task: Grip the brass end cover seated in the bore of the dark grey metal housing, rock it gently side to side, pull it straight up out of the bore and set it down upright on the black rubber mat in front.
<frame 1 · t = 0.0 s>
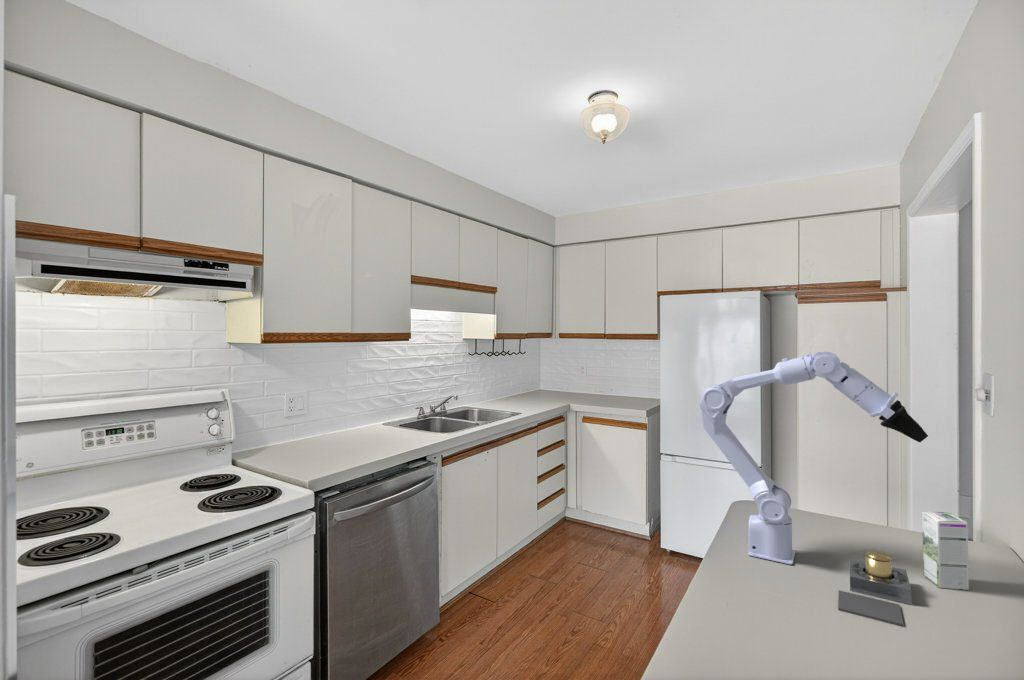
hand: (921, 435, 104), 32 cm above the countertop, tool tilted 50°, fingers open, 7 cm apart
housing: (878, 587, 104), on the countertop
syrup box: (945, 583, 105), on the countertop
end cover: (878, 570, 104), in the housing
rubber mat: (869, 608, 96), on the countertop
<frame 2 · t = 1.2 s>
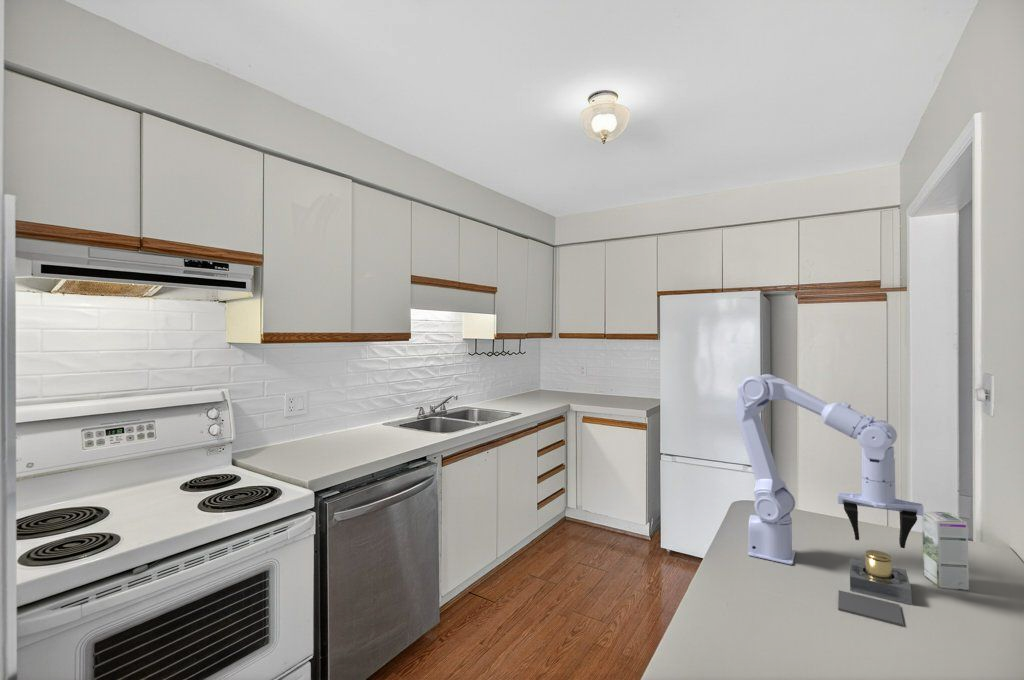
hand: (879, 542, 104), 10 cm above the countertop, tool pointing down, fingers open, 7 cm apart
nothing on the countertop moved.
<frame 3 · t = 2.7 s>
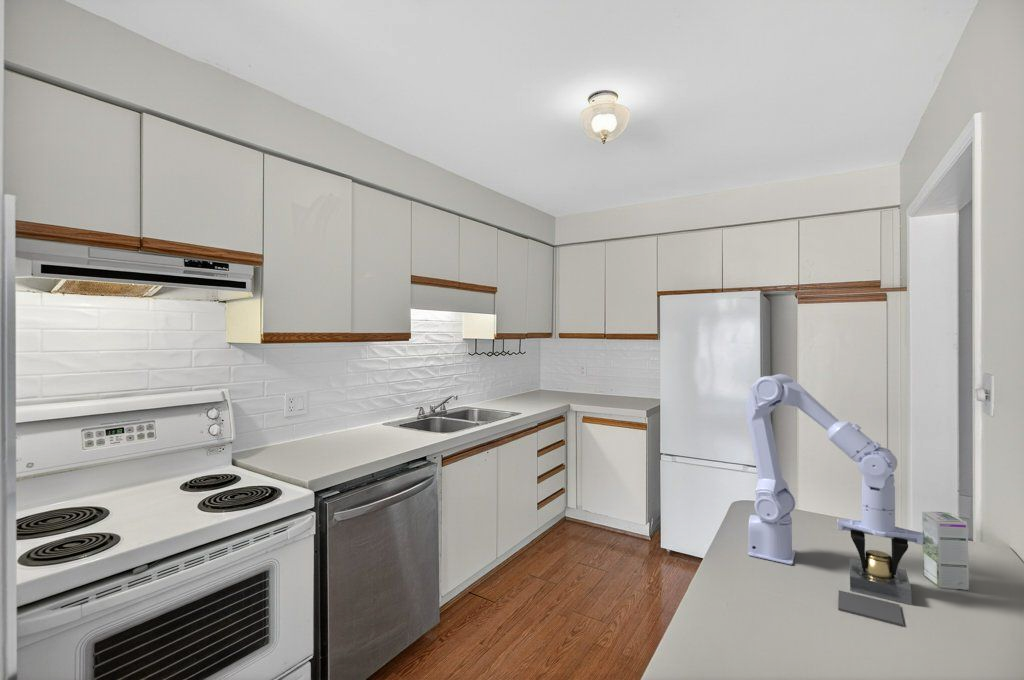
hand: (878, 569, 104), 4 cm above the countertop, tool pointing down, fingers closed on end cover, 4 cm apart
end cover: (878, 570, 104), in the housing, touching gripper
everything else where it was.
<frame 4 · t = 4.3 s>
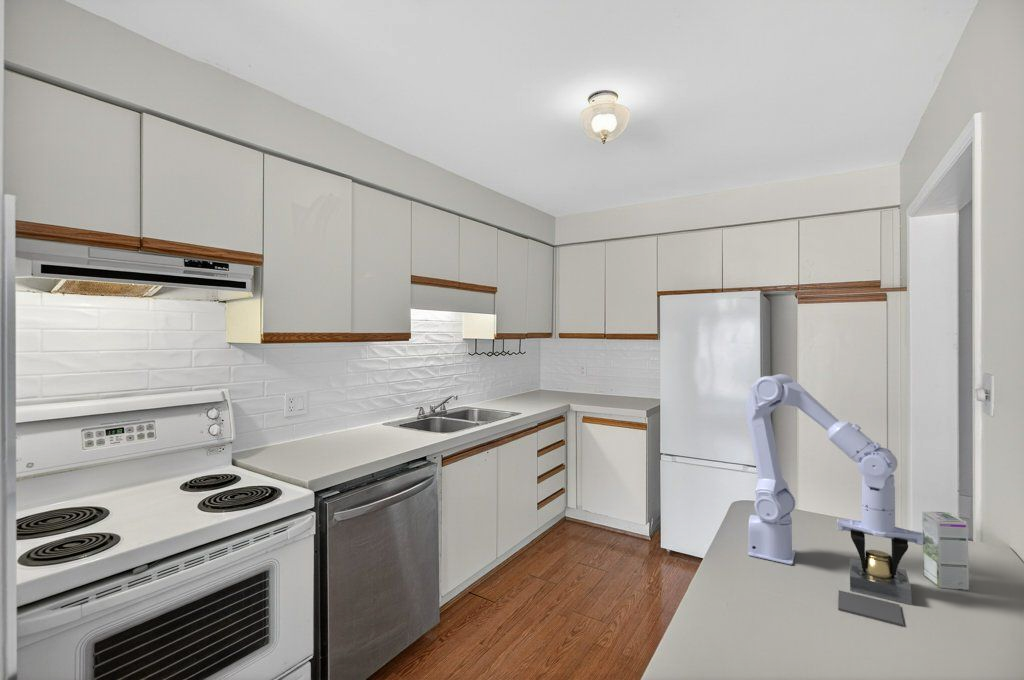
hand: (878, 570, 104), 4 cm above the countertop, tool pointing down, fingers closed on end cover, 4 cm apart
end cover: (878, 570, 104), in the housing, touching gripper
everything else where it was.
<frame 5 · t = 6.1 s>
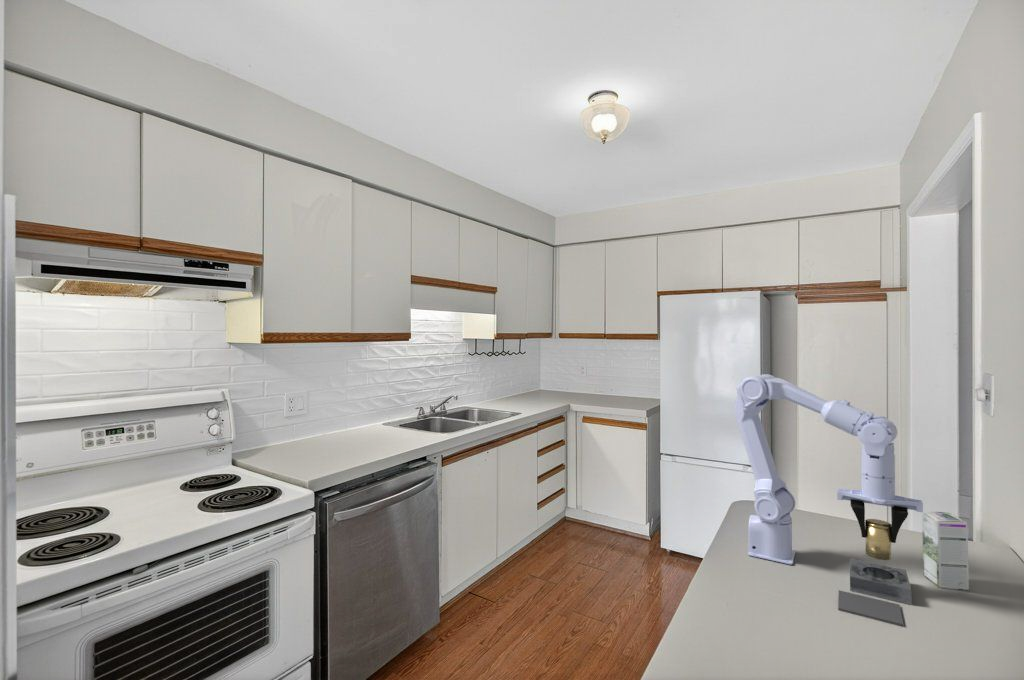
hand: (878, 538, 104), 10 cm above the countertop, tool pointing down, fingers closed on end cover, 4 cm apart
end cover: (878, 539, 104), point 10 cm above the countertop, touching gripper
everything else where it was.
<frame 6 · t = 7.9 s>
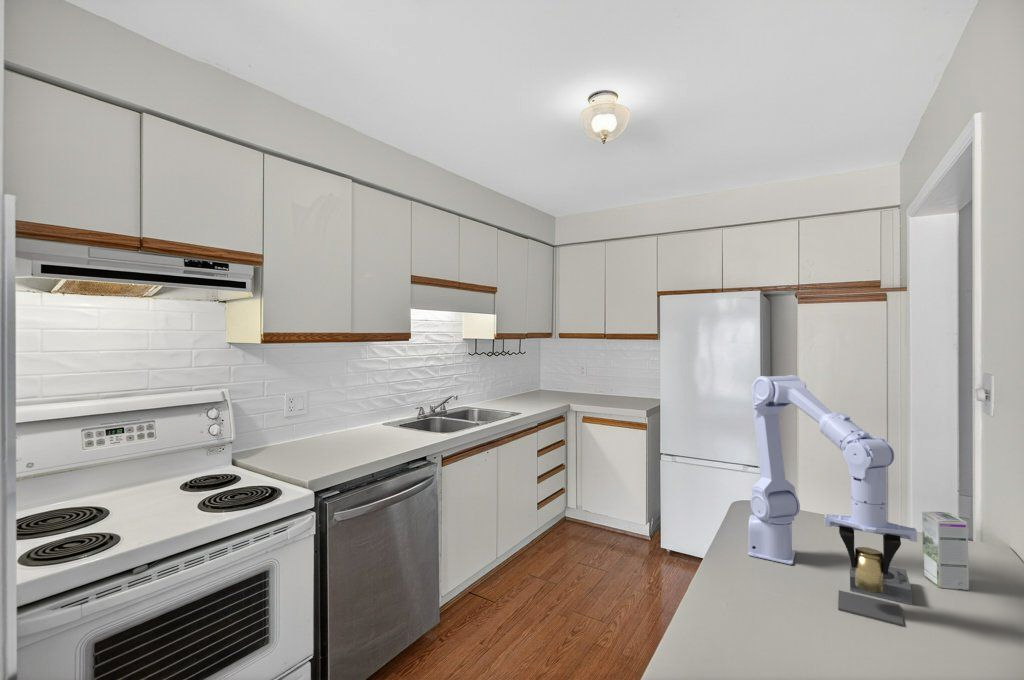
hand: (868, 568, 96), 8 cm above the countertop, tool pointing down, fingers closed on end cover, 4 cm apart
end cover: (869, 569, 96), point 8 cm above the countertop, touching gripper
everything else where it was.
when the fingers open (5 cm above the countertop, at t = 9.2 s): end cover drops 1 cm, resting on rubber mat.
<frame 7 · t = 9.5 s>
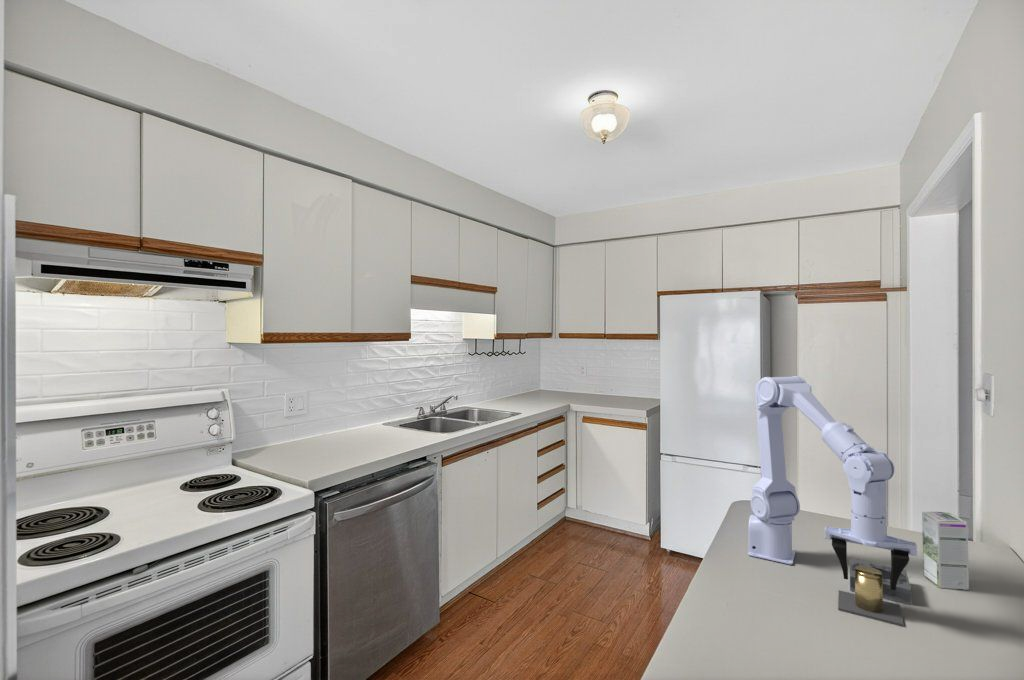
hand: (868, 582, 96), 5 cm above the countertop, tool pointing down, fingers open, 7 cm apart
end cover: (868, 588, 96), on the rubber mat
everything else where it was.
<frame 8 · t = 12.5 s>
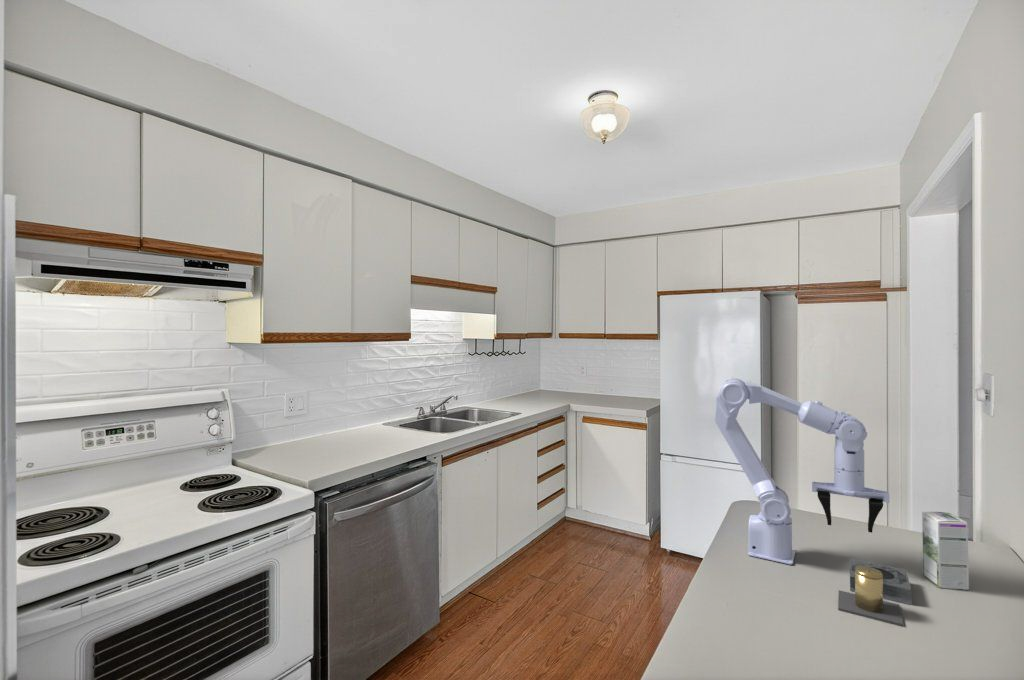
hand: (849, 527, 112), 9 cm above the countertop, tool pointing down, fingers open, 7 cm apart
nothing on the countertop moved.
at the end: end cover 0.1 cm off-centre on the rubber mat, point 3.9 cm above the rubber mat's base; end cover tilted 0°; the gripper is holding nothing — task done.
